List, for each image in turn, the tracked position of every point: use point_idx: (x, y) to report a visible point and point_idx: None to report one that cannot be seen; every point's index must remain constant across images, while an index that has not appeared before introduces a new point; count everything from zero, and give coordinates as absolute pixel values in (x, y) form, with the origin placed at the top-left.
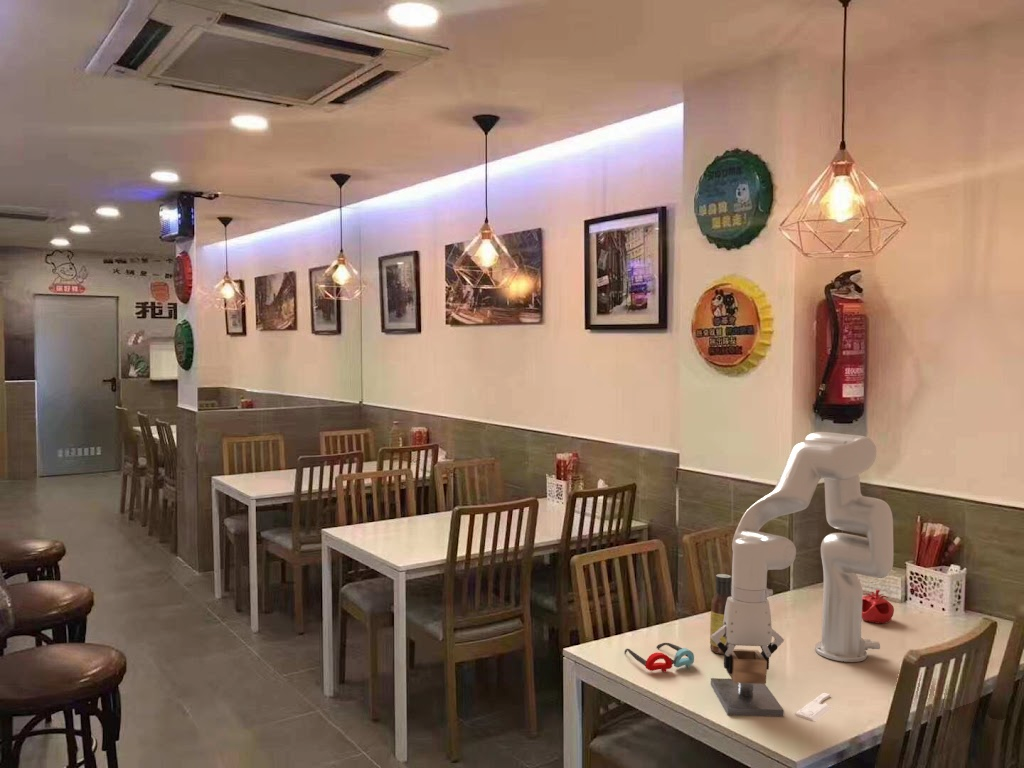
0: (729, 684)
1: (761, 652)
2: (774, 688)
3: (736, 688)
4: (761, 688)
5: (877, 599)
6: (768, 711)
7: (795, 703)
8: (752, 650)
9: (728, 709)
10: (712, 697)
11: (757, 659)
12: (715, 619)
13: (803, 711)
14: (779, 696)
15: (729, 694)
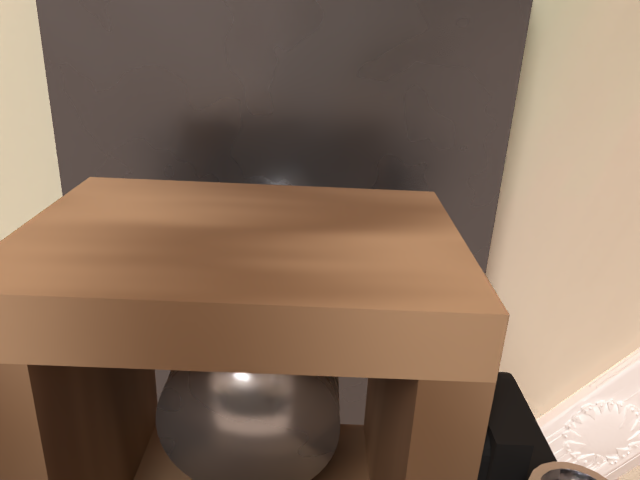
0: (185, 92)
1: (509, 447)
2: (607, 20)
3: (229, 172)
4: (443, 171)
5: None
6: None
7: (618, 286)
8: (397, 342)
9: None
10: (48, 201)
11: (392, 467)
12: None
13: (586, 432)
14: (565, 177)
15: None
